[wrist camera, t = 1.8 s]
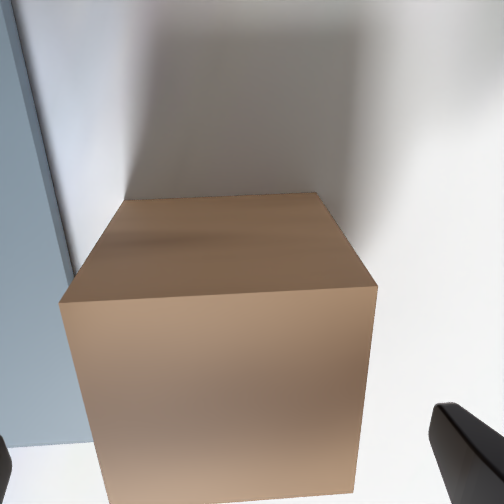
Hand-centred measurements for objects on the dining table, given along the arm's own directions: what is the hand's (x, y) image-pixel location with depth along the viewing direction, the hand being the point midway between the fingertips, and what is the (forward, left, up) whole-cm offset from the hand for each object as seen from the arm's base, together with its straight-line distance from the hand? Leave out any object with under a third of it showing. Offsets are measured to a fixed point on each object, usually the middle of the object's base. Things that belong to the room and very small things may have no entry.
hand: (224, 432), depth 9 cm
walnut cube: (0, 0, -6) cm, 6 cm away
